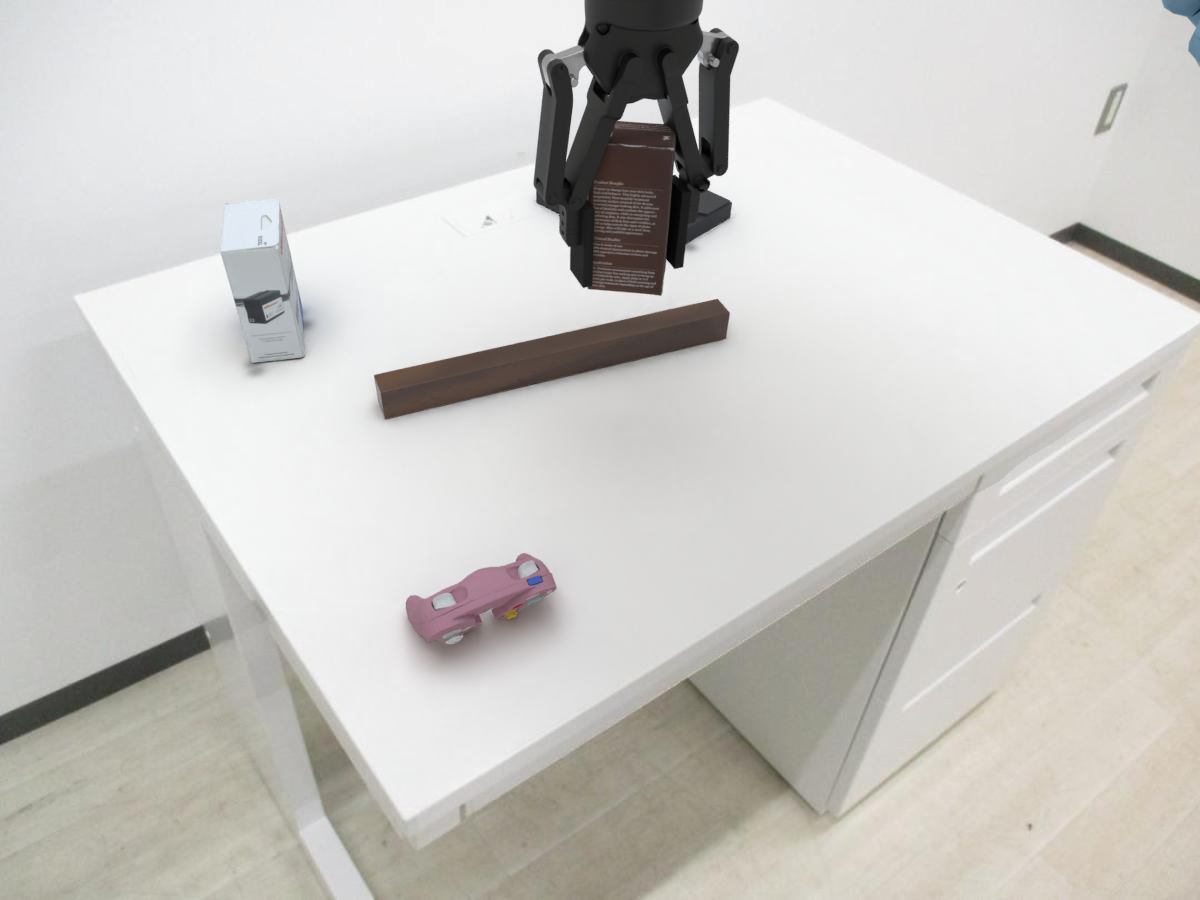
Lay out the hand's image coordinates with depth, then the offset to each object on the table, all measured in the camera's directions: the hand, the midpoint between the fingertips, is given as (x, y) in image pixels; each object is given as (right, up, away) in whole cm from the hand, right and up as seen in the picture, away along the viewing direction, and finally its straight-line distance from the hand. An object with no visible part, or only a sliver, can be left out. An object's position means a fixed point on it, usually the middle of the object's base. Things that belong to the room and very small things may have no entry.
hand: (626, 267), depth 74 cm
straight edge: (-6, -7, +13) cm, 16 cm away
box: (0, -1, +1) cm, 1 cm away
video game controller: (-10, -26, -7) cm, 29 cm away
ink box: (-32, -3, +15) cm, 36 cm away
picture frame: (+2, +13, +34) cm, 37 cm away
